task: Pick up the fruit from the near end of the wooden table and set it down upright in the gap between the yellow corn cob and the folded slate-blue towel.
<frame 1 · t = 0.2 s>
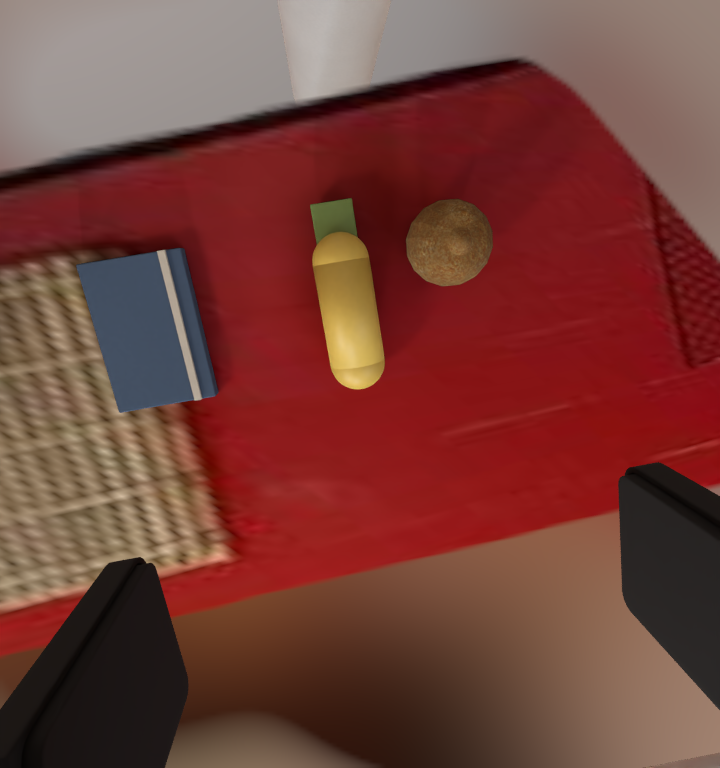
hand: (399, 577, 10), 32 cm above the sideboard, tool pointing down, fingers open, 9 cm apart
fruit: (435, 246, 40), on the sideboard
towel: (153, 331, 40), on the sideboard
corn cob: (348, 310, 41), on the sideboard
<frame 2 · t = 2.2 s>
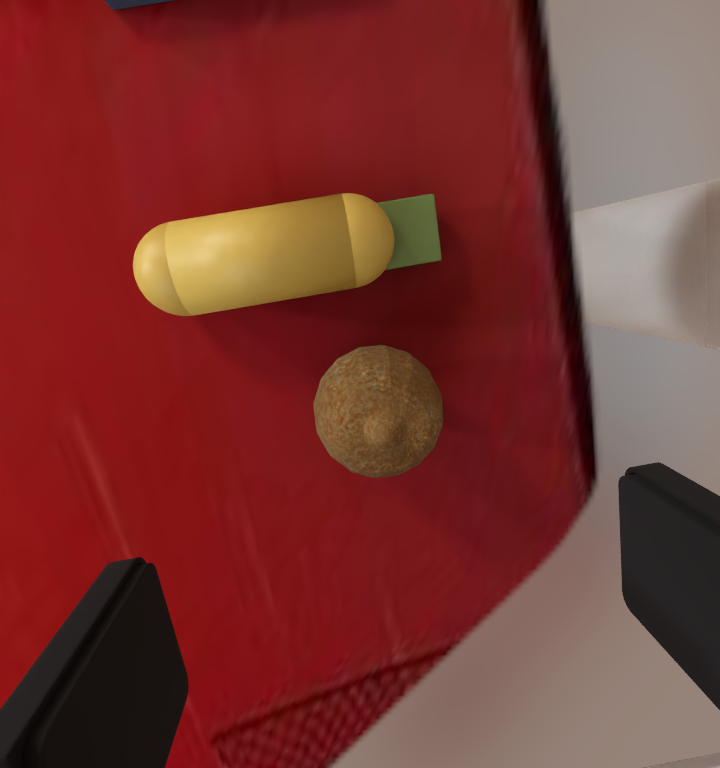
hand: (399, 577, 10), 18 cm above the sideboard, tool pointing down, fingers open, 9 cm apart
fruit: (370, 388, 28), on the sideboard
corn cob: (271, 257, 25), on the sideboard
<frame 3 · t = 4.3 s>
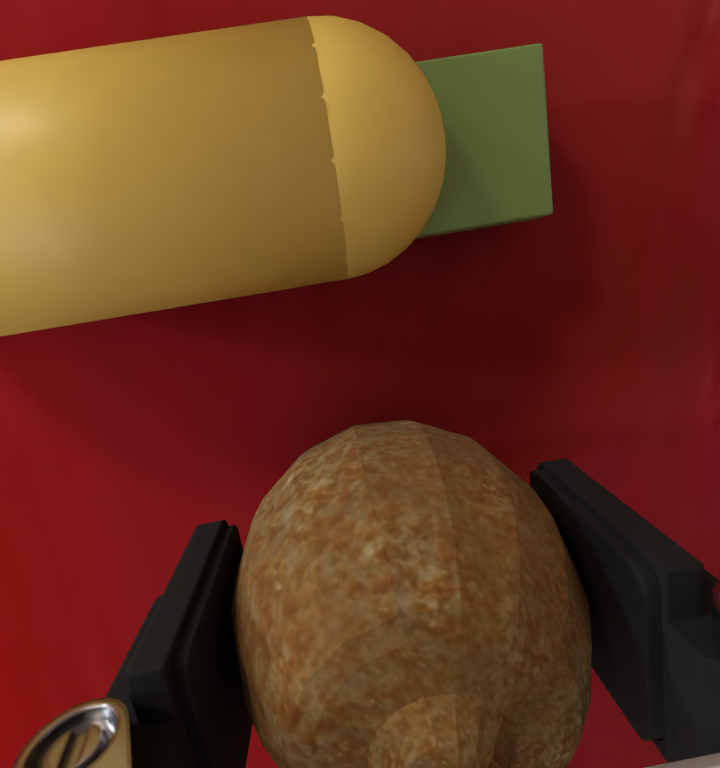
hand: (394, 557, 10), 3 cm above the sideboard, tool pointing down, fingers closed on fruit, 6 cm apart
fruit: (377, 490, 13), on the sideboard, touching gripper
corn cob: (155, 209, 11), on the sideboard
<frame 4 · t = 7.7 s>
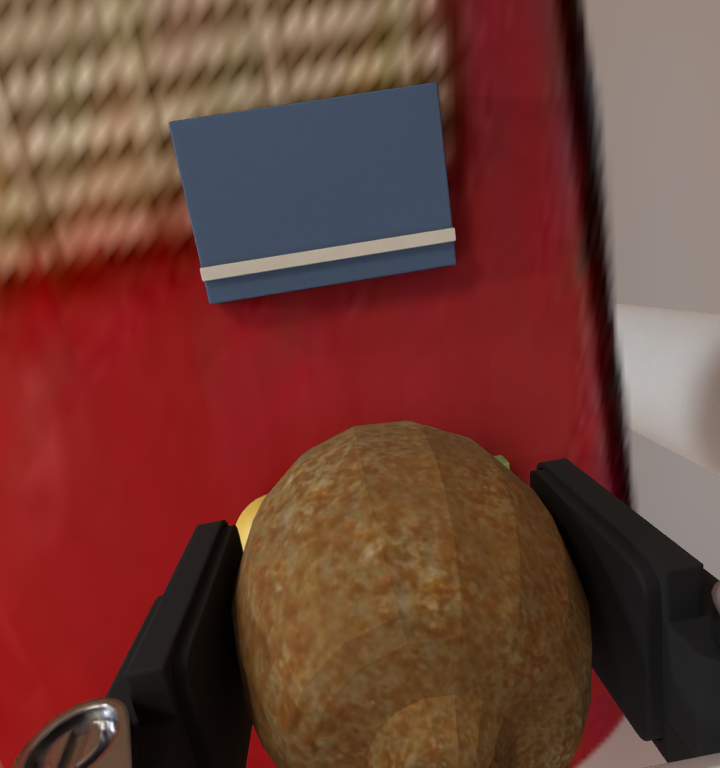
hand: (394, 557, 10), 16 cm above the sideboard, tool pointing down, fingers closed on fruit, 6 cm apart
fruit: (377, 490, 13), point 13 cm above the sideboard, touching gripper
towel: (319, 200, 23), on the sideboard
corn cob: (352, 503, 27), on the sideboard
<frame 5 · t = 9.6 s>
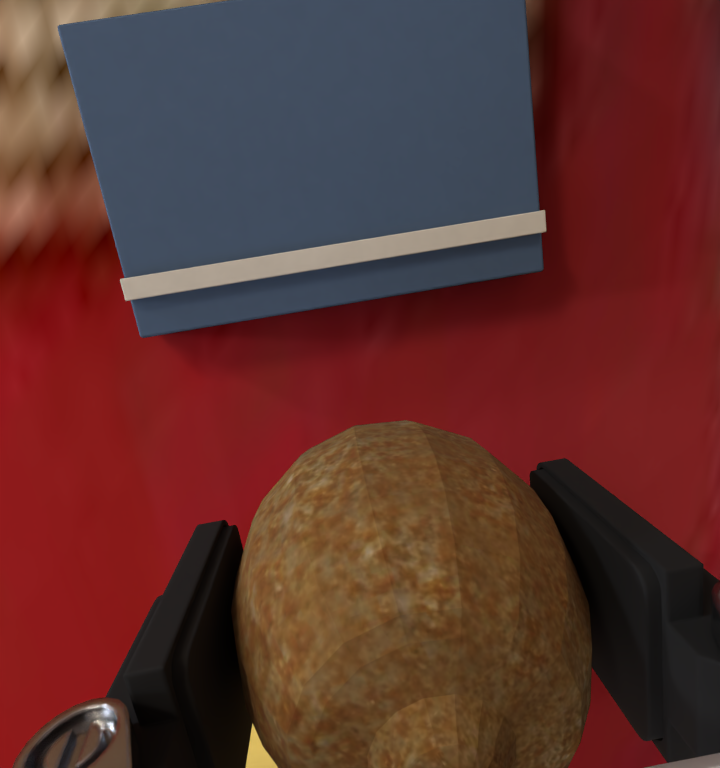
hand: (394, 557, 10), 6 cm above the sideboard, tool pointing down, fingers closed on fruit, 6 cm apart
fruit: (377, 490, 13), point 3 cm above the sideboard, touching gripper
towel: (321, 167, 14), on the sideboard
corn cob: (370, 627, 18), on the sideboard
when the fingers open (3 cm above the sideboard, at t = 11.0 s): fruit stays where it is, on the sideboard.
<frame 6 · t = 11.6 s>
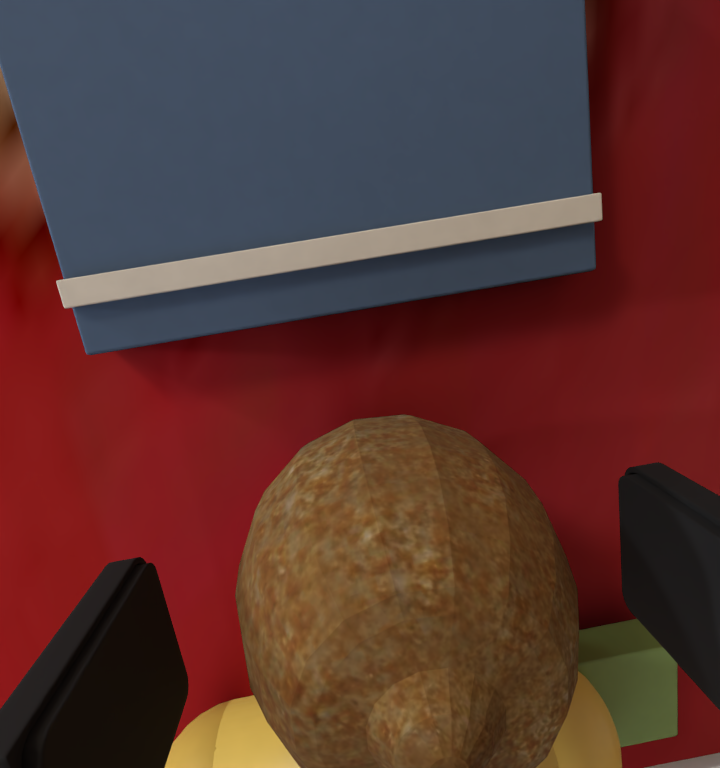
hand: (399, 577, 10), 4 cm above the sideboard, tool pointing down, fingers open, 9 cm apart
fruit: (375, 484, 14), on the sideboard
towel: (316, 139, 11), on the sideboard
corn cob: (376, 696, 15), on the sideboard
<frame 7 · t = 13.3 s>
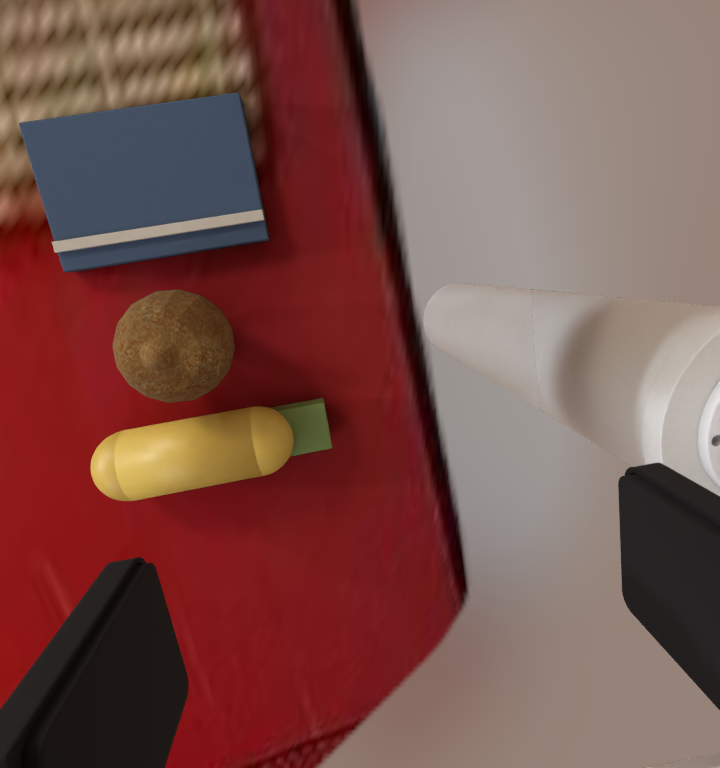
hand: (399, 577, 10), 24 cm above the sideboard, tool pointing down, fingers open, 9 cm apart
fruit: (194, 335, 31), on the sideboard
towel: (155, 187, 29), on the sideboard
corn cob: (202, 440, 33), on the sideboard
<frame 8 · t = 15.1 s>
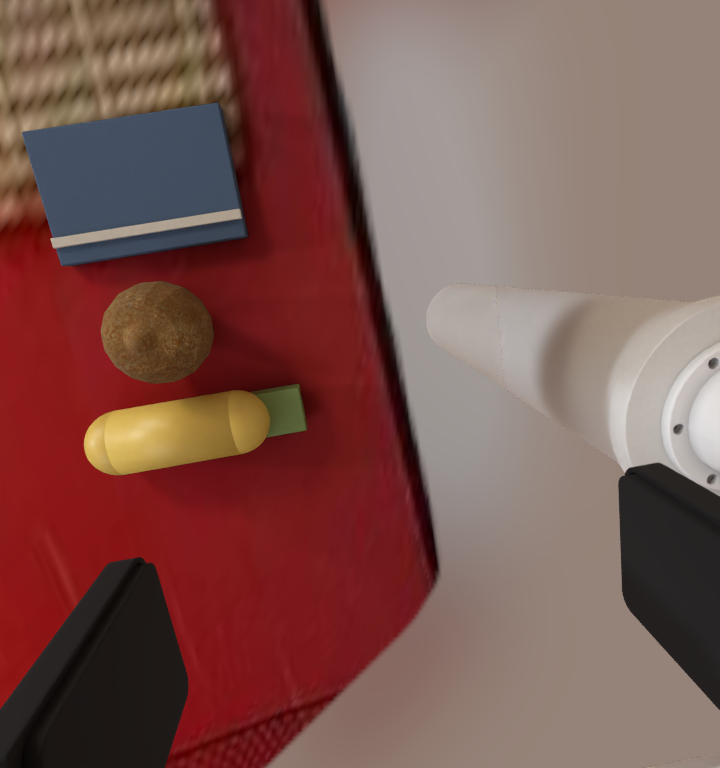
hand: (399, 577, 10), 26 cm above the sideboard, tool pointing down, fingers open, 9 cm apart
fruit: (180, 325, 34), on the sideboard
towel: (144, 189, 32), on the sideboard
corn cob: (188, 422, 35), on the sideboard
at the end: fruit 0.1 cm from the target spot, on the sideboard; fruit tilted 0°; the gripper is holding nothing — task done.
